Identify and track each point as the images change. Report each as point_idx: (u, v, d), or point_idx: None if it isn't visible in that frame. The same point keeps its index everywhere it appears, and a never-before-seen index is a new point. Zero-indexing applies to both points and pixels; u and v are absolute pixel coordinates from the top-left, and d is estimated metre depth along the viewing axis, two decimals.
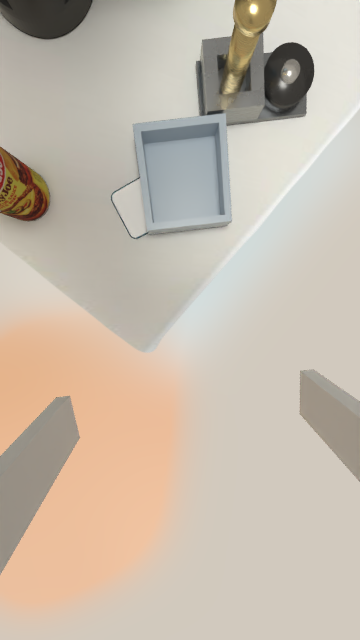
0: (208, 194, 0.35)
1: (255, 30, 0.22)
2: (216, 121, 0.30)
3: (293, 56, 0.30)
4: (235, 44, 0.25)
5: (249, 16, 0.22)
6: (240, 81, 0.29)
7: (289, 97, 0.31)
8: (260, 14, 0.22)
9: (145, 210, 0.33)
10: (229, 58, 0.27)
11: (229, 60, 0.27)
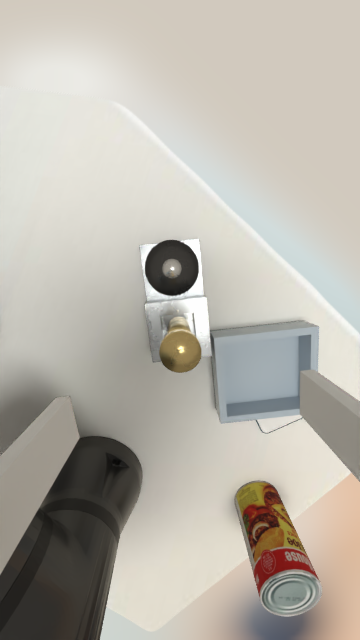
0: (272, 342, 0.32)
1: None
2: (221, 346, 0.29)
3: (156, 265, 0.28)
4: None
5: (195, 358, 0.21)
6: (189, 326, 0.28)
7: (193, 266, 0.28)
8: (193, 347, 0.21)
9: (297, 414, 0.32)
10: None
11: None
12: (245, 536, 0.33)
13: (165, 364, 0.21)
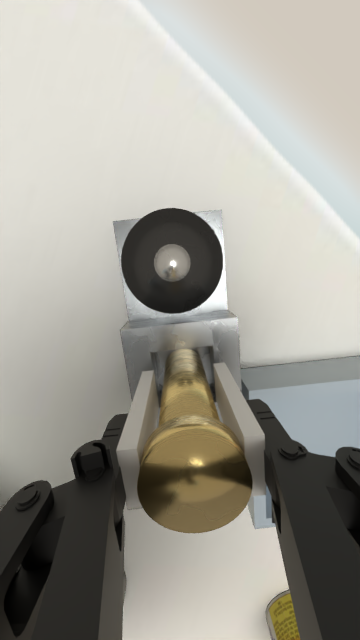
0: None
1: None
2: None
3: (143, 257, 0.15)
4: None
5: (234, 501, 0.08)
6: (204, 371, 0.15)
7: (212, 258, 0.15)
8: (231, 475, 0.07)
9: None
10: None
11: None
12: None
13: (154, 515, 0.08)
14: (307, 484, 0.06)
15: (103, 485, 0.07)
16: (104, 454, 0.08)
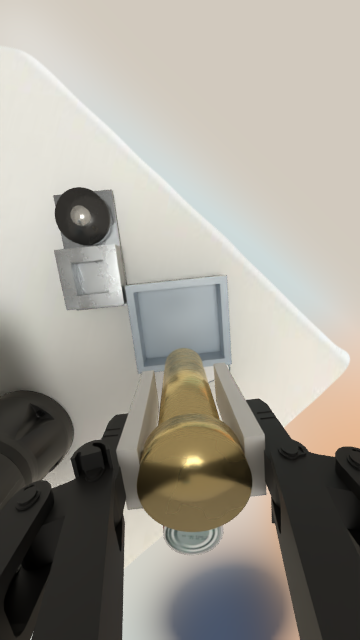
0: (191, 296, 0.33)
1: None
2: (132, 294, 0.30)
3: (66, 213, 0.29)
4: None
5: (234, 500, 0.08)
6: (203, 370, 0.15)
7: (102, 214, 0.29)
8: (230, 474, 0.07)
9: (212, 364, 0.32)
10: None
11: None
12: None
13: (153, 514, 0.08)
14: (307, 484, 0.06)
15: (103, 485, 0.07)
16: (104, 454, 0.08)
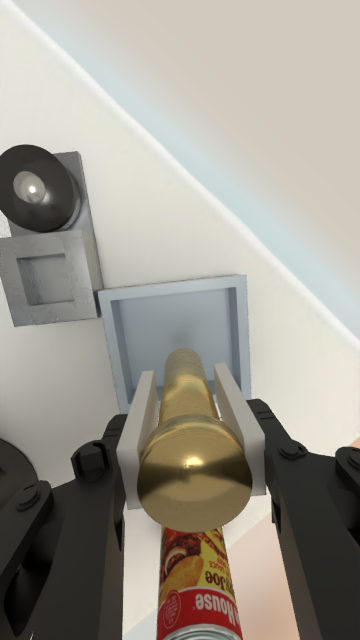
0: (193, 304, 0.24)
1: None
2: (109, 303, 0.21)
3: (9, 184, 0.19)
4: None
5: (234, 500, 0.08)
6: (204, 370, 0.15)
7: (63, 185, 0.20)
8: (231, 474, 0.07)
9: None
10: None
11: None
12: (160, 565, 0.25)
13: (153, 514, 0.08)
14: (307, 484, 0.06)
15: (103, 485, 0.07)
16: (104, 454, 0.08)
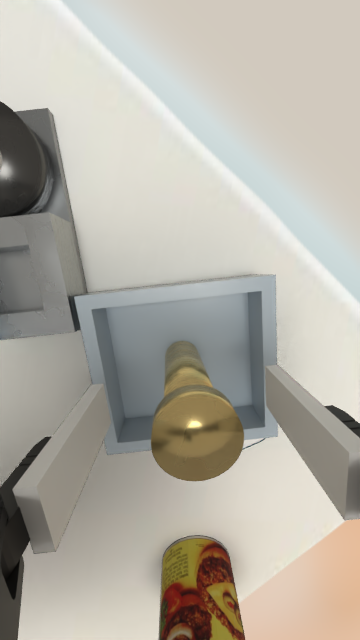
0: (202, 313, 0.19)
1: None
2: (90, 313, 0.15)
3: None
4: None
5: (229, 452, 0.09)
6: None
7: (25, 152, 0.14)
8: (226, 430, 0.09)
9: None
10: None
11: None
12: None
13: (164, 466, 0.09)
14: None
15: None
16: None
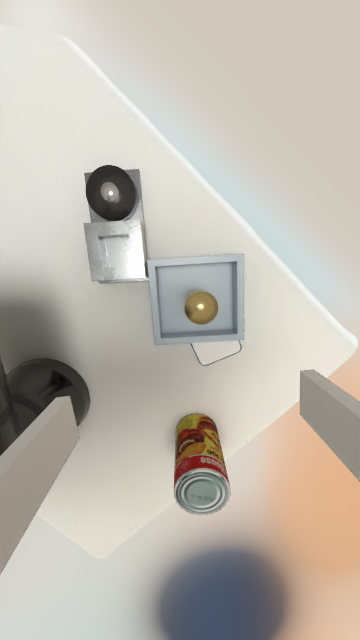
0: (207, 274, 0.35)
1: None
2: (154, 268, 0.32)
3: (96, 189, 0.31)
4: None
5: (212, 313, 0.26)
6: None
7: (130, 191, 0.31)
8: (212, 304, 0.26)
9: (225, 339, 0.34)
10: None
11: None
12: (175, 453, 0.36)
13: (188, 317, 0.26)
14: None
15: None
16: None
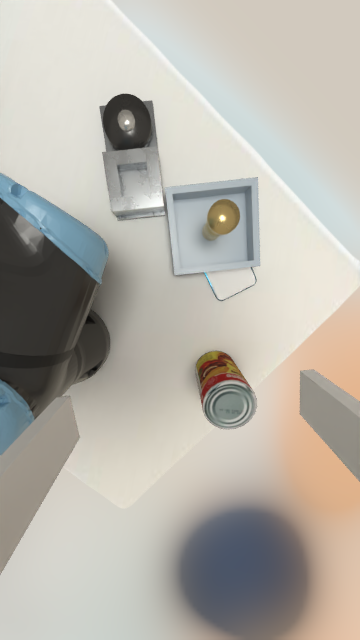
0: None
1: None
2: (171, 196, 0.33)
3: (113, 119, 0.32)
4: None
5: (234, 221, 0.27)
6: None
7: (145, 120, 0.32)
8: (234, 212, 0.27)
9: (242, 266, 0.35)
10: None
11: None
12: (198, 382, 0.37)
13: (212, 226, 0.27)
14: None
15: None
16: None
